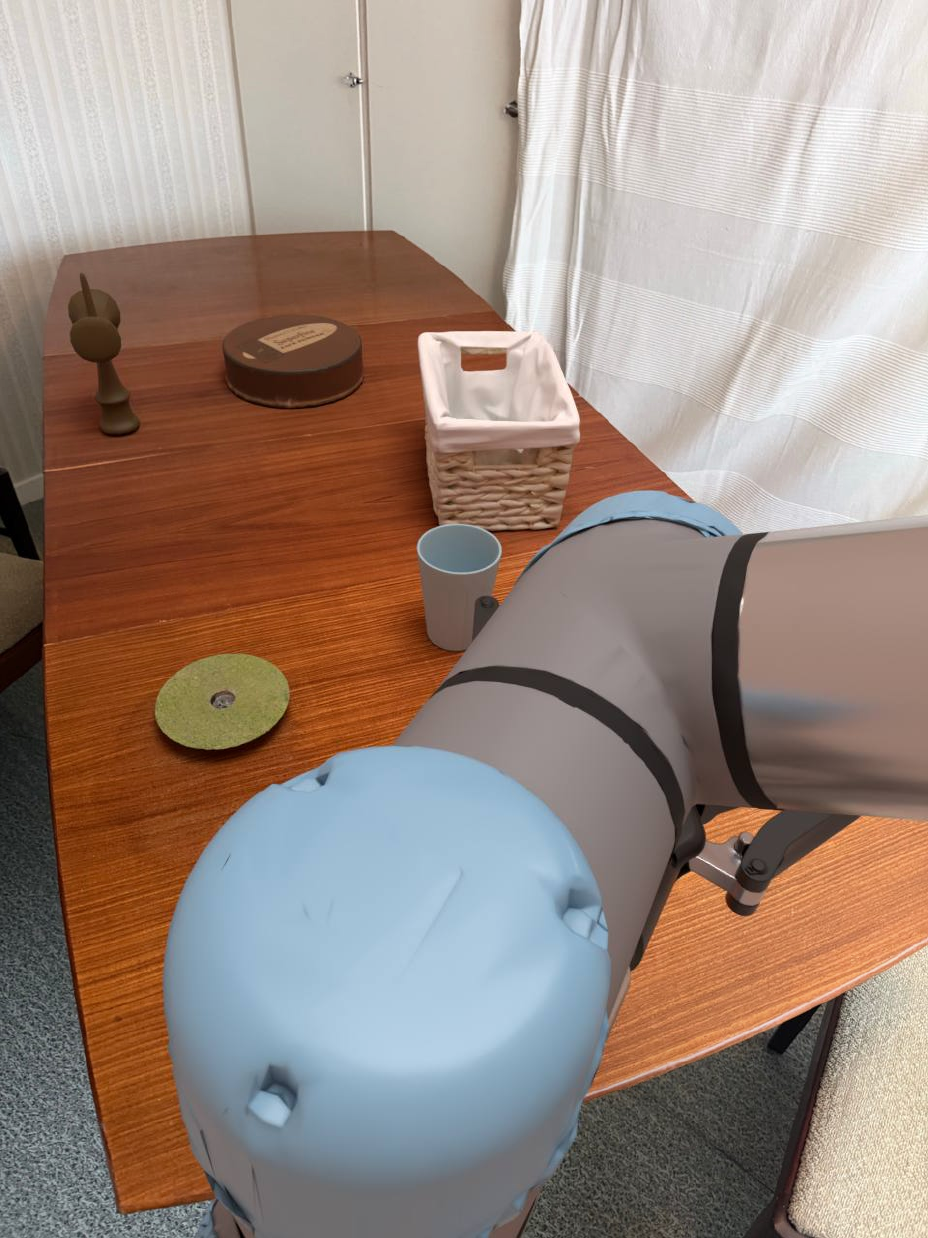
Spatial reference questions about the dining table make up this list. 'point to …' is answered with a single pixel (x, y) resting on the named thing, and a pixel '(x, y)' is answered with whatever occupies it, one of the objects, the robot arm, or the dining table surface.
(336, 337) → the container
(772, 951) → the dining table surface
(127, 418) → the kendama
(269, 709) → the green grinding disc
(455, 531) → the cup
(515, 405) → the basket
